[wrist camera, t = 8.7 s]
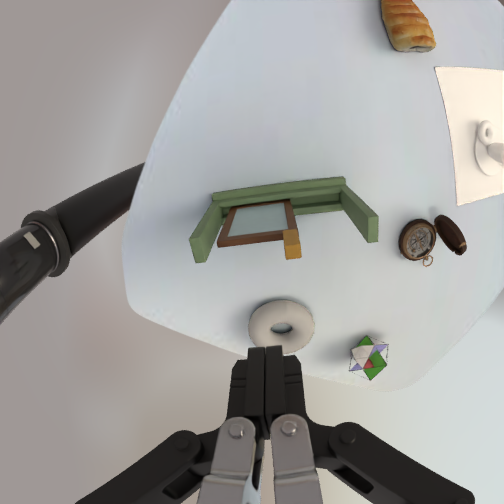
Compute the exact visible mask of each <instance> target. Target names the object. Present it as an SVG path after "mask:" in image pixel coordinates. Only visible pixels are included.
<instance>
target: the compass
mask: <svg viewBox="0 0 504 504" xmlns="http://www.w3.org/2000/svg"><path fill="white" fill-rule="evenodd" d="M434 224H435V225H434V226H433V225H432V224H430V223H429V222H428V221H426V220H423V219H418V220H415V221H412V222H411V223H409V224H408V225H407V226H406V227H405V228H404V230H403V231H402V233H401V235H400V239H399V248H400V251H401V252H400V253H401V254H403V255H404V257H405V258H407V259H409V260H412V261H416V260H420V259H423V258H424V257H425V258H424V260H428V259H429V258H428V257H429V256H430V255H429V256H427V255H428V254H429V253H430V252H431V251H432V249H433V247H434V245H435V241H436V233H437V232H438V234H439V236H440V237H441V239H442V240H443V242H444V243H445V244H446V246H447V247H448V248H449V249H450V250H451V251H452V252H454V251H455V254H457V255H462V254H463V253H464V252H465V251H466V249H467V246H466V241H465V238H464V236H463V234H462V232H461V230H460V229H459V228H458V226H457V225H456V224H455V223H454V222H453V221H452V220H451V219H450V218H448V217H446V216H444V215H439V216H437V217H436V218H435V220H434ZM430 257H431V258H432V262H433V257H432V256H430ZM424 260H423V265H424ZM432 262H431V263H430V264H429V265H427V266H430V265H431V264H432ZM424 266H426V265H424ZM427 266H426V267H427Z"/></svg>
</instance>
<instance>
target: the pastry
mask: <svg viewBox="0 0 504 504" xmlns="http://www.w3.org/2000/svg"><path fill="white" fill-rule="evenodd" d="M381 4H382V5H381V9H382V19H383V20H384V25H385V27H386V31H387V33H388V36H389V40H390V42H391V44H392V45H393V47H394V48H395V49H396V50H398V51H402V52H410V51H416V50H417V51H419V52H429V51H431V50H432V49H434V48H435V46H436V42H435V40H434V35H433V31H432V29H431V28H430V26H429V23H428V20H427V18H426V17H425V16H424V14H423V13H422V12H421V11H420V10H419V8H418V7H417V6H416V4H415V3H414V2H413V1H412V0H381Z"/></svg>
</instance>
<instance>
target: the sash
mask: <svg viewBox="0 0 504 504" xmlns="http://www.w3.org/2000/svg"><path fill="white" fill-rule="evenodd" d="M277 240H284V249H285V257H286V259H287V260H288V259H296V258H301V257H302V256H301V245H300V241H299V234H298V229H297V225H296V220H295V216H294V212H293V208H292V205H291V201H290V199H284V200H276V201H268V202H261V203H253V204H246V205H239V206H232V207H231V208H230V211H229V213H228V215H227V218H226V220H225V223H224V225H223V227H222V230H221V232H220V235H219V237H218V240H217V246H218V248H220V247H228V246H236V245H244V244H252V243H261V242H269V241H277Z"/></svg>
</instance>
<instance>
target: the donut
mask: <svg viewBox="0 0 504 504" xmlns="http://www.w3.org/2000/svg"><path fill="white" fill-rule="evenodd" d="M279 323H285V324H289V325H291V326H292V327H293V328H292V330H291V331H289V332H288V333H284V334H278V333H274V332H272V331H271V327H272V326H274V325H276V324H279ZM314 327H315V323H314V320H313V317H312V315H311V313H310V312H309V311H308V310H307V309H306V308H305V307H304V306H302V305H300V304H298V303H296V302H292V301H288V300H278V301H273V302H269V303H266V304H264V305H263V306H261V307H260V308H258V309H257V310H256V311H255V312H254V313H253V315H252V316H251V318H250V321H249V324H248V330H249V336H250V338H251V340H252V341H253V343H254V344H255V345H256V346H257V347H265V349H266V346H275V345H282V347H283V354H289V353H293V352H296V351H298V350H300V349H302V348H303V347H304V346H305V345H307V344H308V343H309V341H310V340H311V338H312V336H313V334H314Z"/></svg>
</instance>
